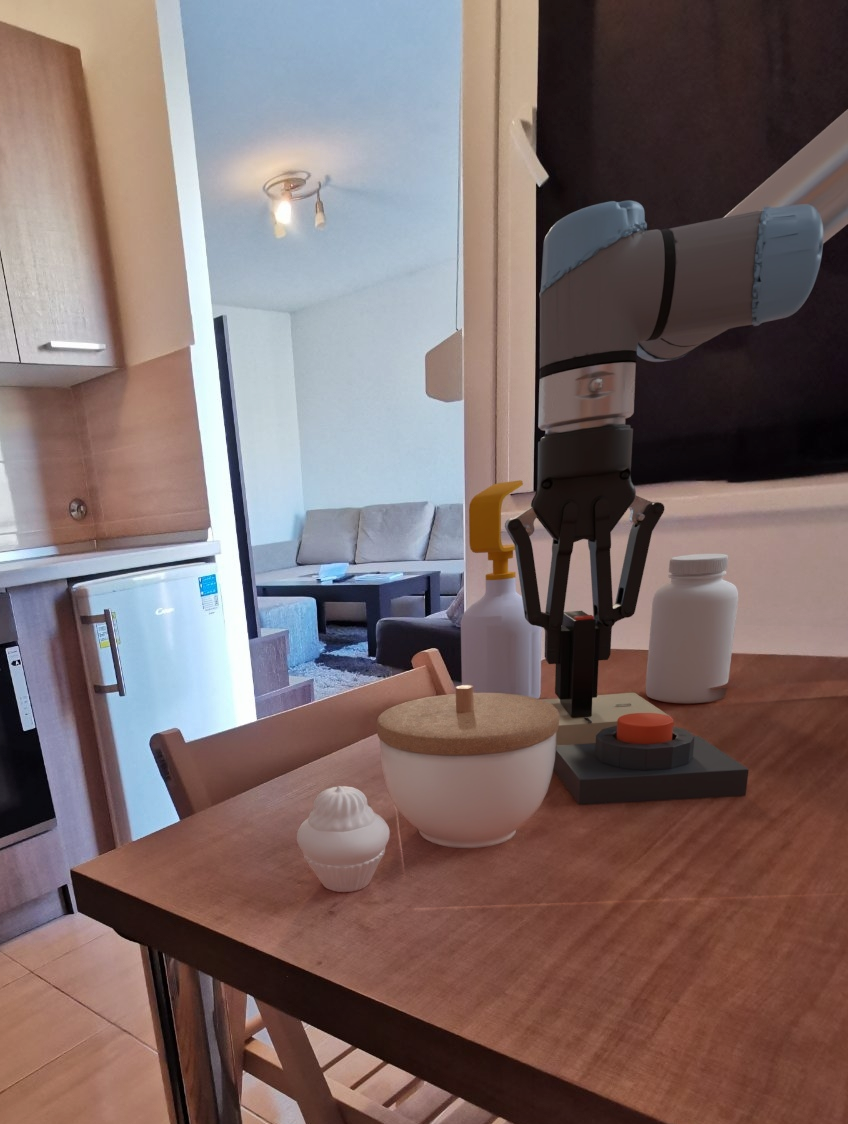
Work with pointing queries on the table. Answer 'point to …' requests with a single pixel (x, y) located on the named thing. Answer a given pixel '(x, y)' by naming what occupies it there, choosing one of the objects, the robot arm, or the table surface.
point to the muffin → (343, 839)
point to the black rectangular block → (580, 663)
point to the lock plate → (598, 716)
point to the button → (645, 728)
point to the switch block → (648, 770)
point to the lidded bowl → (468, 763)
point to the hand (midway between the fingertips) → (575, 694)
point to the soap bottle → (498, 612)
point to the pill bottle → (692, 631)
